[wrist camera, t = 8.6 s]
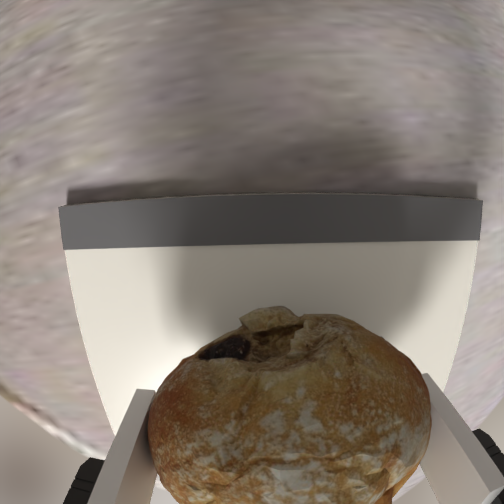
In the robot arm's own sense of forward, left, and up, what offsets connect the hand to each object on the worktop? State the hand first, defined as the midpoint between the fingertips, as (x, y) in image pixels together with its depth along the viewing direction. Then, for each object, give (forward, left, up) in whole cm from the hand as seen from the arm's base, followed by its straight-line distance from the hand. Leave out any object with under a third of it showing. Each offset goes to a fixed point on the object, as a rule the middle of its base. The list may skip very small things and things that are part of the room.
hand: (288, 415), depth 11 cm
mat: (0, -1, -4) cm, 4 cm away
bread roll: (0, 0, -1) cm, 1 cm away
